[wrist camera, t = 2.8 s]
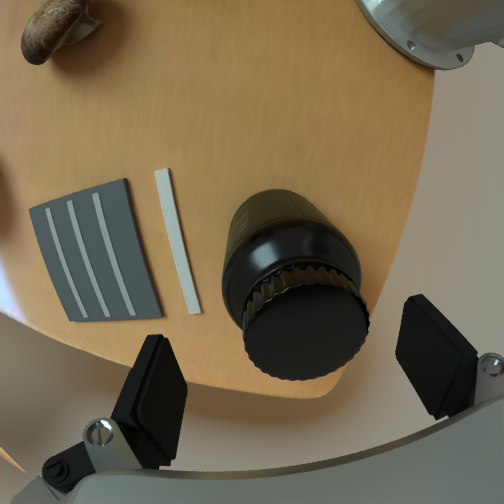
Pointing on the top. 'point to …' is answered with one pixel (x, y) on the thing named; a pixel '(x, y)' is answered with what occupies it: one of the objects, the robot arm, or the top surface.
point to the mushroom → (56, 28)
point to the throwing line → (176, 239)
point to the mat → (96, 255)
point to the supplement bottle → (293, 287)
